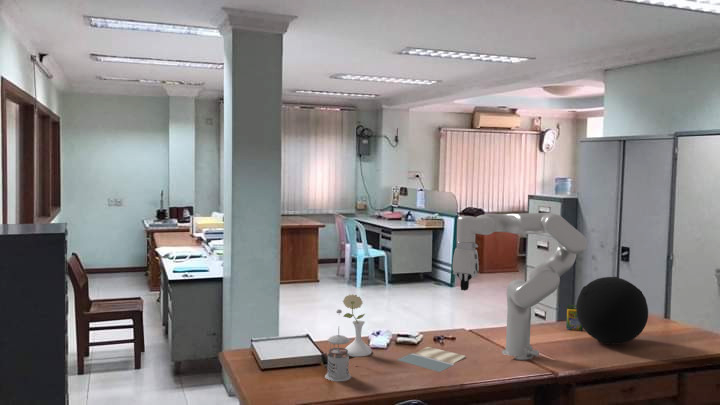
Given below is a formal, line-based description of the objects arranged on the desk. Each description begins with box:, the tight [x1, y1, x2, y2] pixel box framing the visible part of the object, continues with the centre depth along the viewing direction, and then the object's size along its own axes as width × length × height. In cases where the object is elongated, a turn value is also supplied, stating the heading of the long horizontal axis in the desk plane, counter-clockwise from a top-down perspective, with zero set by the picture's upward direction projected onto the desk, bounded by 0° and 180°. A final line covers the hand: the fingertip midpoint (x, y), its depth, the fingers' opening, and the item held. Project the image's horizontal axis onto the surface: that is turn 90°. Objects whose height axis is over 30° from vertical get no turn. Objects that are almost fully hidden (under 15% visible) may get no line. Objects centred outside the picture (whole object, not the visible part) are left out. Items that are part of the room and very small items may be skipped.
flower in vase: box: [342, 293, 373, 358], centre depth 235 cm, size 13×11×25 cm
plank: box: [413, 346, 466, 364], centre depth 233 cm, size 18×10×1 cm, turn 51°
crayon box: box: [565, 304, 584, 331], centre depth 280 cm, size 7×3×12 cm, turn 80°
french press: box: [324, 309, 352, 382], centre depth 211 cm, size 10×12×25 cm
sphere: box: [575, 276, 649, 345], centre depth 258 cm, size 30×30×30 cm
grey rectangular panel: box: [396, 353, 455, 373], centre depth 225 cm, size 20×11×1 cm, turn 51°
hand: (464, 289), depth 238 cm, fingers closed
